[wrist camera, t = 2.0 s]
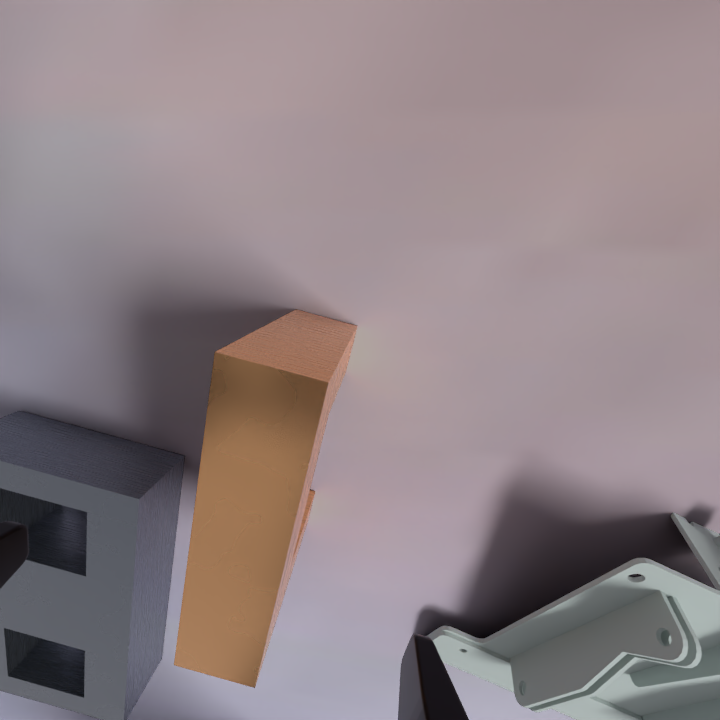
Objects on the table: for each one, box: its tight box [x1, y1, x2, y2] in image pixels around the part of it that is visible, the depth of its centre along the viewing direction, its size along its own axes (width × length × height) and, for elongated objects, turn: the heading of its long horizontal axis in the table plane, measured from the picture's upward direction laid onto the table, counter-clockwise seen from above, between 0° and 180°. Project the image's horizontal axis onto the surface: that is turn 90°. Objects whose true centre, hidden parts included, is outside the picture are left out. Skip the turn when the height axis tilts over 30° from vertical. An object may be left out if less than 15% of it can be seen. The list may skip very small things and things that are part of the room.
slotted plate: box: [0, 411, 185, 720], centre depth 17 cm, size 14×8×3 cm, turn 166°
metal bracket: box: [427, 513, 720, 720], centre depth 16 cm, size 14×6×15 cm
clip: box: [174, 309, 357, 688], centre depth 12 cm, size 10×2×6 cm, turn 166°
